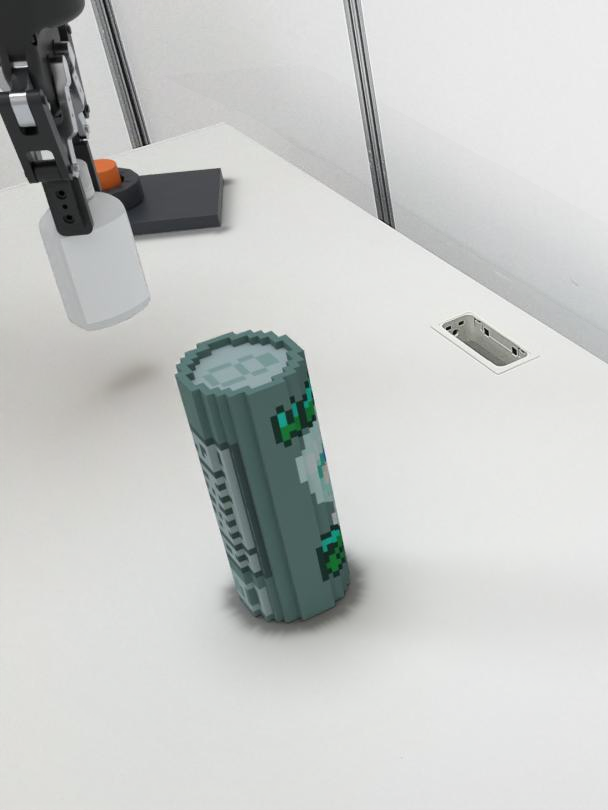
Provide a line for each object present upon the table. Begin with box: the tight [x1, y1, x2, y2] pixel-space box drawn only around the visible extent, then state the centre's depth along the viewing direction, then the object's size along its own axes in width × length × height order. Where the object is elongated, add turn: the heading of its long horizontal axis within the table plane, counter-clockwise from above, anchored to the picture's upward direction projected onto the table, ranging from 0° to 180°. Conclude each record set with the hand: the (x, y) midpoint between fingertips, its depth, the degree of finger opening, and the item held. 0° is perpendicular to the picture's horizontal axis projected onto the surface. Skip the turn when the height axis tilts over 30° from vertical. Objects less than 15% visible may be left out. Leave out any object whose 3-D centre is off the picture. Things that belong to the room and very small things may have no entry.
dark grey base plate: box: [101, 166, 224, 236], centre depth 109 cm, size 12×10×3 cm
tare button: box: [93, 158, 122, 190], centre depth 107 cm, size 3×3×2 cm
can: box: [174, 329, 351, 624], centre depth 67 cm, size 6×6×15 cm
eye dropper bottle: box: [38, 159, 151, 332], centre depth 82 cm, size 4×6×12 cm
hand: (81, 214), depth 81 cm, fingers closed on eye dropper bottle, 4 cm apart
